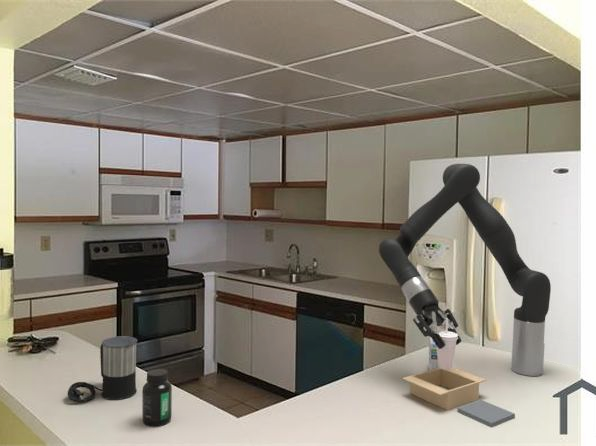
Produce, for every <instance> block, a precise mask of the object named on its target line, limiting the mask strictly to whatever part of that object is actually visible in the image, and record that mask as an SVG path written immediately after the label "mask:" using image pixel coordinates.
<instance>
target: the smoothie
mask: <svg viewBox="0 0 596 446" xmlns="http://www.w3.org/2000/svg"><path fill="white" fill-rule="evenodd" d="M448 328H449V326H448V318H446V328H445V330H437V334H438V333H439V335H440V337H441V338H442V340H443V341H444V343H445V346H444V347H443V348H442V349H439V348H438V347H437V346H436V347H437V358H438V367H439V368H440V369H443V370H451V369H452V367H453V366H454V358H455V352H456V347H457V345H456V341H457V339H458V335H459V333H458V334H456V333H454V332H450V331H447V330H448Z"/></svg>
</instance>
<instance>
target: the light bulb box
mask: <svg viewBox="0 0 596 446" xmlns="http://www.w3.org/2000/svg"><path fill="white" fill-rule="evenodd" d="M428 337H429V336H428ZM428 341H429V342H428V369H429V370H428V371H430V370H434V369H438V368H439V367H438V358H437V347H436V344H435V342H434V341H433V339H432V338H430V337H429V339H428Z"/></svg>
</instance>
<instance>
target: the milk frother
mask: <svg viewBox="0 0 596 446" xmlns="http://www.w3.org/2000/svg"><path fill="white" fill-rule="evenodd" d="M137 343H138V339H137V338H136V337H132V336H126V335H124V336H123V335H122V336H121V335H119V336H112V337H108V338H105V339H103V340H102V341H101V344H100V348H99V349H100V351H99V352H100V354H99V355H100V375H101V378H102V387H101V388H102V389H101V388H99V387H97V386H95V385H93V384H91V383H88V382H86V381H77V382H75V383H73V384H71V385H70V386H69V388H68V390H67V398H69V400H70V401H73V402H74V403H86V402H87V403H88V402H89V401H92V400H94V398H95V397H96V394H97V392H96V390H98V391H99V392H100V391H101V394H100V395H101V397H102V398H103V399H105V400H114V401H115V400H117V401H118V400H125V399H128V398H131V397H133V396H134V395H136V394H137V385H136V384H137V383H136V382H137V380H136V377H137V375H136V374H137V370H136V369H137ZM79 388H84V389H87V390H89V391H90V395H88V396H86V397H84V394H85V393H84V392H83V391H81V390H80V389H79Z"/></svg>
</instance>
